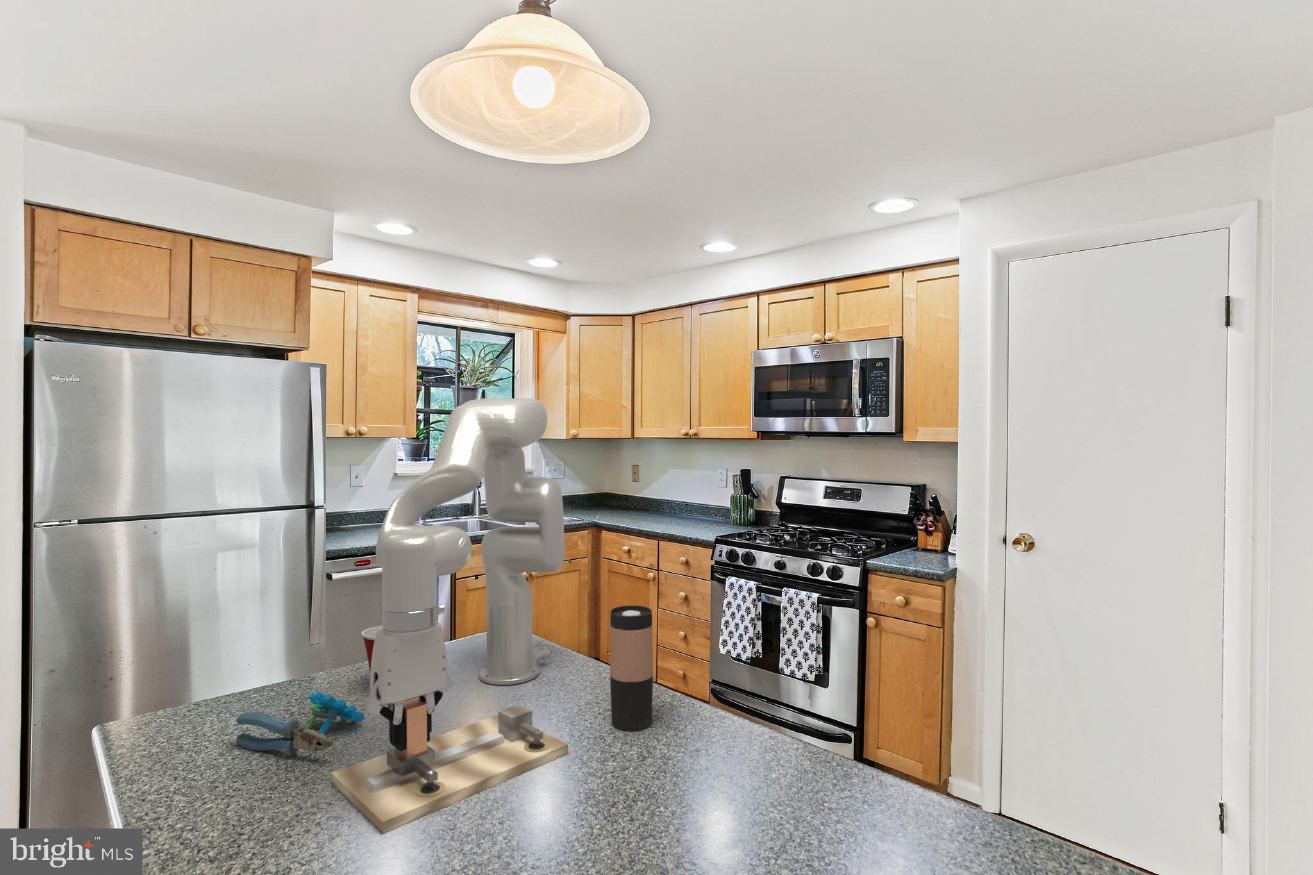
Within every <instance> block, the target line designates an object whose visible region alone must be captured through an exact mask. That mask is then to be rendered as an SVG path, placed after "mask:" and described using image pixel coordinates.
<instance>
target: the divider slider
mask: <svg viewBox="0 0 1313 875" xmlns="http://www.w3.org/2000/svg"><path fill="white" fill-rule="evenodd" d="M402 722H404V723H405V750H404V751H401V752H400V751H399V750H398V749H396V748H395V747H393V748H392V749H388V750H386V754H387V765H388V766H390V767H391V768H392V769H393V770H394V771H396V772H397V773H398V774H399V775H401V776H405V775H408V774H410V773H413V772H416V773H417V774H419V775H420V776H421V777H422V778H424V779H425V780H426V781H427V787H432V786H434V781H436V780H438V773H437V772H436V771H435V770H433V769H432V768H431V767H429V766H431V765H434V764H435V750H434V749H432V748H431V747H429V746H428V745H427V704H426V703H424V702H423V701H421V700H419V699H418V697H417V698H413V699H410V700H406V701H403V711H402Z"/></svg>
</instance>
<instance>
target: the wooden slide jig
mask: <svg viewBox="0 0 1313 875" xmlns="http://www.w3.org/2000/svg"><path fill="white" fill-rule="evenodd" d="M497 712H498V713H497V714H496V715H493V716H491V717H488V718H485V719H482V720H479V721H476V722H473V723H471V724H468V725H465V726H461V727H459V728H455V729H453V730H451V731H448V732H447V731H446V732H444V733H442V734H439V735H436V736H433V737H430V741H429V742H427V745H428V746H429V747H431V748H432V749H434V750H435V764H434V765H431V766H429V767H431V768H432V769H433V770H435V771H436V772H437V773H438V780H436V781H434V786H432V787H427V781H426V780H425V779H424V778H422V777H421V776H420V775H419V774H417V773H416V772H413V773H410V774H408V775H405V776H401V775H399V774H398V773H397V772H396V771H394V770H393V769H392V768H391V767H390V766H388V765H387V753H385V754H382V755H378V756H375V757H373V758H369V759H368V760H364V761H360V762H358V763H355V764H352V765H350V766H346V767H344V768H341V769H338V770H335V771H332V772H331V776H330V777H331V779H330V780H331V781H330V782H331V784H332V785H333V786H334V787H335V788H336V789H337V790H338V791H339V792H340V793H341V794H342V795H343V796H344V795H345V796H344V797H345V798H346V797H347V798H346V799H347V800H348V799H349V802H350V803H351V804H352V805H353V806H354V807H355V808H356V809H357V810H358V811H359V812H360V813H362V814H363V816H364V817H366V819H367V820H369V821H370V822H371V823H372V825H374V827H376V829H378V831H380V832H381V833H382V834H385V833H388V832H389V831H392V830H394V829H397V828H399V827H401V826H404V825H405V824H409V823H411V822H414V821H415V820H417V819H419V818H421V817H424V816H426V815H429V814H432V813H433V812H436V811H438V810H441V809H444V808H445V807H447V806H450V805H452V804H454V803H457V802H459V801H461V800H464V799H466V798H469V797H471V796H473V795H475V794H477V793H480V792H482V791H486V790H487V789H489V788H491V787H494V786H496V785H499V784H501V783H503V782H505V781H508V780H510V779H512V778H515V777H517V776H519V775H521V774H524V773H527V772H529V771H531V770H533V769H536V768H538V767H540V766H542V765H545V764H547V763H550V762H552V761H553V760H557V759H559V758H561V757H564V756H566V755H568V754H569V743H567V742H565V741H563V740H561V739H559V738H557V737H555V736H553V735H551V734H549V733H547V732H546V731H544V730H542V729H539V728H538V727H536V726H535V725H533V710H532V709H530V708H528V707H526V706H524V705H522V704H521V703H518V704H517V703H516V704H515V705H512V706H508V707H506V708H502V709H499V710H497Z"/></svg>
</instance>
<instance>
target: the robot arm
mask: <svg viewBox="0 0 1313 875" xmlns="http://www.w3.org/2000/svg"><path fill="white" fill-rule="evenodd" d="M547 424H548V414H547V410H546V408H545V406H544V404H543V403H542V402H541V400H539V399H537V398H529V397H528V398H526V397H524V398H496V397H495V398H491V397H490V398H477V399H471V400H468V401H465V402H464V403H462V404H459V405H458V406H456V407H454V409H453V410H452V411H451V413H450V415H449V417H448V420H447V423H446V426H445V428H444V431H443V435H442V438H441V440H440V442H439V446H438V448H437V452H436V454H435V457H434V460H433V463H432V466H431V467H430V468H429V469H428V470H427V471H426V472H424V473H423V474H422V475H420V476H418V477H417V478H416V479H414V480H413V481H412V482H411V483H410V484H409V485H407V486H406V487H405V488H404V489H403V490H402V491H401V492H400V493H399V494H398V495H397V496H396V497H395V499H393V501H392V502H391V504H390V506H389V508H388V509H387V511H386V514H385V517H384V519H383V522H382V525H381V527H380V530H379V533H378V535H377V536H378V537H377V541H376V546H375V558H376V561H377V563H378V565H379V567H380V568H381V570H382V571H381V579H382V580H381V586H382V590H381V591H382V592H381V594H382V596H381V598H382V607H381V608H382V611H381V612H382V617H381V620H382V621H381V622H382V625H381V626H382V627H383V628H382V630H379V631H377V632H376V636H375V641H374V646H373V653H372V661H371V672H370V671H369V673H370V674H369V691H370V692H369V695H368V697H367V699H366V701H365V703H364V705H363V709H364V710H363V711H366V712H367V713H368V714H373V715H377V716H382V717H383V718H385V719H386V720H388V721H389V722H388V726H389V727H388V728H389V729H388V731H389V732H388V734H389V735H388V736H389V737H388V741H389V744H390V745H391V746H392V747H393V748H396V749H398V750H399V751H400V752H401V751H404V750H405V723H404V722H402V711H403V701H406V700H410V699H413V698H418V699H419V700H421V701H423V702H424V703H426V704H427V742H429V741H430V738H431V733H432V730H433V729H432V727H433V726H432V724H433V723H432V721H433V719H432V718H433V717H432V716H433V714H434V712H436V706H437V705H438V704H439V702H440V701H441V700H442V698H443V696H445V695H446V694H447V693H448V692H449V691H450V690H452V689H453V687H454V682H453V681H452V678H451V677H450V675H449V674H448V662H447V661H448V659H447V649H446V643H445V638H444V633H443V628H442V625H441V623H440V622H438V621H439V615H442V614H444V613H445V612H446V609H445V605H444V604H438V599H437V598H438V595H437V594H438V593H437V591H438V588H437V587H438V586H437V585H438V584H437V582H438V581H437V577H441V576H448V575H452V574H455V573H458V572H460V571H461V570H463V568H465V566H467V564H468V562H469V560H470V558H471V555H472V548H473V546H472V541H471V537H470V536H469V535H468V533H467V532H466V531H465V530H463V529H462V528H460V527H457V526H450V525H415V524H416V522H417V521H418V520H419V519H420V518H421V517H423V516H424V515H425V514H427V513H428V512H429V511H431V510H432V509H434V508H436V507H439V506H441V505H443V504H446V503H448V502H451V501H454V500H455V499H456V500H457V499H459V498H461V497H463V496H466V495H468V494H470V493H471V492H473V491H475V490H476V489H478V487H479V485H480V484H481V482H482V478H483V479H484V495H485V506H486V511H487V515H488V517H489V518H490V519H492V520H494V521H496V522H502V523H504V522H505V523H536V524H537V525H538V526H500V527H499V526H498V527H495V528H492V529H490V530H489V531H487V532H486V533H485V534H484V535H483V538H482V541H481V544H480V548H481V549H480V550H481V551H480V552H481V559H482V560H481V561H482V564H483V569H484V575H485V576H484V578H485V595H486V596H485V599H486V600H485V601H486V611H485V612H486V614H485V615H486V620H485V621H486V622H485V623H486V665H485V666H483V667H482V668H481V669H480V670H479V672H478V673H479V674H478V677H479V680H480V681H482V682H484V683H485V684H488V685H489V684H491V685H494V686H495V685H498V686H511V685H518V684H522V683H526V682H529V681H532V680H533V679H535V678H537V677H538V675H539V674H540V666H539V664H537V663H538V662H539V661H540V660H541V659H543V660H544V659H547V658H550V657H551V655H552V653H551V652H552V651H551V650H550V648H544V649H540V650H539V648H533V615H532V614H533V604H532V603H533V594H532V593H533V592H532V589H531V586H530V584H529V582H528V581H527V579H526V577H524V575H523V573H541V574H543V573H544V574H545V573H554V572H557V571H558V570H561V569H560V568H562V566H563V563H564V562H565V561H564V560H565V555H566V554H565V553H566V550H565V549H566V547H565V526H564V525H565V523H564V521H565V520H564V503H563V502H564V501H563V495H562V490H561V487H560V484H559V483H558V482H557V481H556V480H555V479H553V478H550V477H546V476H545V477H543V476H537V477H535V476H528V474H527V473H526V461H525V460H526V457H525V452H524V449H523V448H525V447H527V446H531V445H532V444H534V443H536V442H539V441H540V439H542V437H543V436H544V434H545V432H546V431H547V427H548V426H547ZM483 476H484V477H483ZM380 701H381V703H382V704H380Z"/></svg>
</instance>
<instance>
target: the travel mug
mask: <svg viewBox="0 0 1313 875" xmlns="http://www.w3.org/2000/svg"><path fill="white" fill-rule="evenodd" d="M609 622H610V625H609V628H610V630H609V631H610V632H609V634H610V635H609V638H610V639H609V640H610V641H609V675H610V676H609V680H610V681H609V682H610V683H609V685H610V707H611V709H610V710H611V713H610V714H611V724H612V726H613V727H614V728H615V729H617V730H619V731H623V732H639V731H642V730H646V729H648V728H649V727H650V726H651V725H652V722H653V721H652V720H653V694H654V692H653V691H654V688H653V687H654V655H653V654H654V651H653V650H654V648H653V645H654V642H653V610H652V609H651V608H650V607H648V606H643V605H635V604H634V605H632V604H631V605H629V604H628V605H620V606H616V607H614V608H612V609H610V620H609Z"/></svg>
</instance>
